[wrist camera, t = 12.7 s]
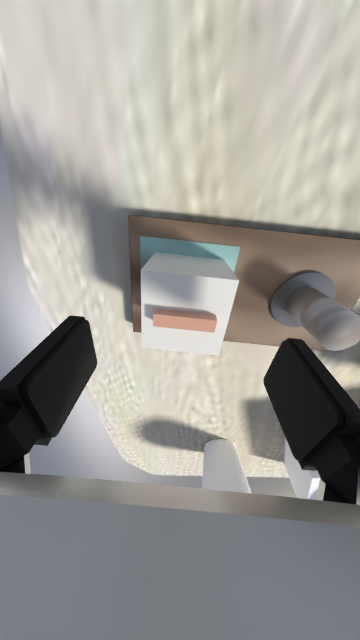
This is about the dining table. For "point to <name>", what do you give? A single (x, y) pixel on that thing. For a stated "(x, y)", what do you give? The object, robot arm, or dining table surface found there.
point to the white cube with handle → (186, 303)
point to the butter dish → (300, 476)
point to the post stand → (265, 279)
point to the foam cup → (223, 467)
